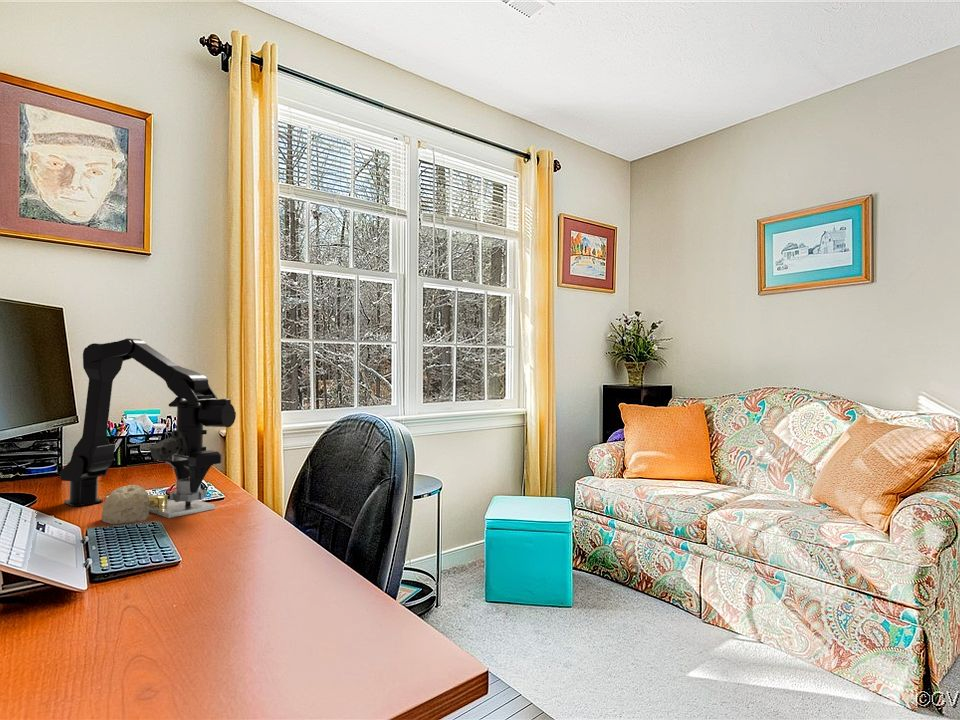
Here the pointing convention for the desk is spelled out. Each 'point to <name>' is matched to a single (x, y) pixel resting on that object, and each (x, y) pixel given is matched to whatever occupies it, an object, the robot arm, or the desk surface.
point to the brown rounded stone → (126, 505)
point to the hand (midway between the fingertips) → (188, 490)
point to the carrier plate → (176, 506)
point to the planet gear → (186, 492)
